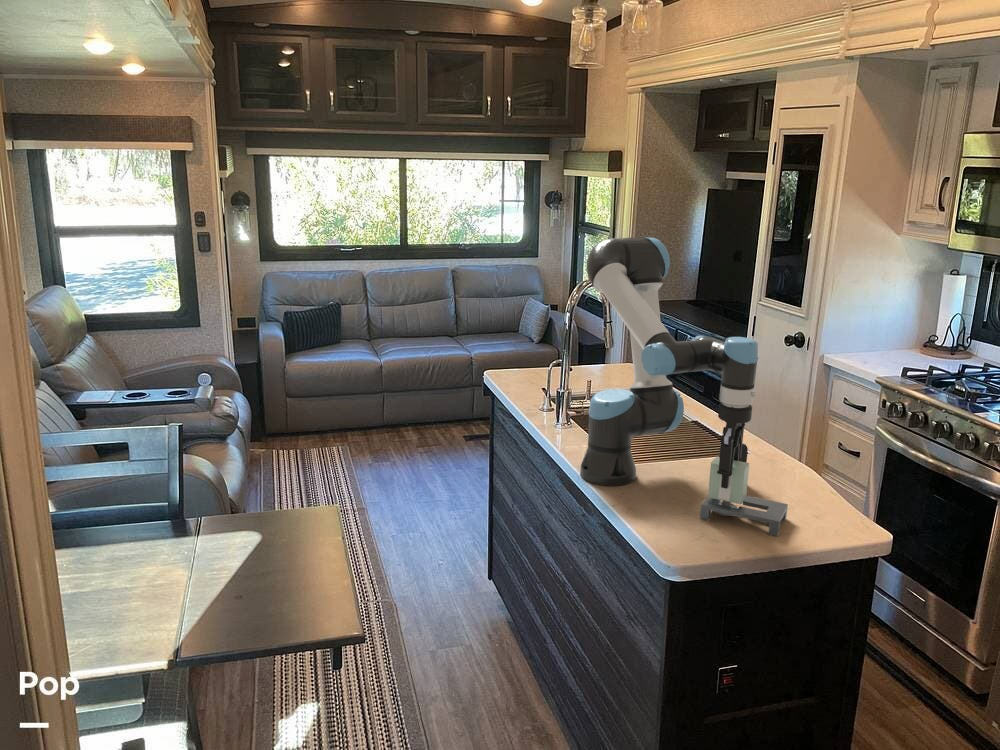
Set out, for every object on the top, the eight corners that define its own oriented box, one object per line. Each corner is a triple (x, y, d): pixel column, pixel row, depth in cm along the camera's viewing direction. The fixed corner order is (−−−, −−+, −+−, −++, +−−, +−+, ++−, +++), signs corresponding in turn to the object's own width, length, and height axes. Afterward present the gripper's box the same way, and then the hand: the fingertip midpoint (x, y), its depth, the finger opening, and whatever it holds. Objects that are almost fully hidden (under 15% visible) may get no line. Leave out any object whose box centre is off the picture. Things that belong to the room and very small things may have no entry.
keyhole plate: (699, 518, 189) (701, 504, 188) (712, 502, 199) (713, 488, 198) (777, 536, 181) (779, 521, 180) (786, 518, 190) (787, 504, 189)
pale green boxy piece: (706, 511, 191) (710, 463, 188) (712, 503, 196) (716, 456, 193) (739, 519, 187) (744, 470, 184) (744, 510, 192) (749, 462, 189)
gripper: (743, 416, 175) (733, 512, 181) (760, 396, 190) (751, 485, 196) (709, 410, 179) (701, 505, 185) (729, 391, 194) (721, 479, 200)
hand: (727, 494), depth 191 cm, fingers closed on pale green boxy piece, 5 cm apart
